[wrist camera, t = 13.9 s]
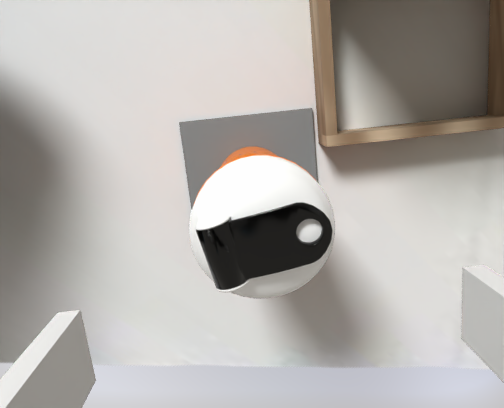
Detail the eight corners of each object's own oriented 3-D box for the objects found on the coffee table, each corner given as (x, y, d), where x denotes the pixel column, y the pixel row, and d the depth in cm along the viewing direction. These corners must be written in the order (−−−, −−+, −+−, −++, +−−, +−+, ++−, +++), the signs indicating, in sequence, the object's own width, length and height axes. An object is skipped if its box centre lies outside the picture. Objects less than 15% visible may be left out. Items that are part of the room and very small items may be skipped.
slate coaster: (197, 247, 44) (197, 248, 43) (179, 122, 41) (179, 122, 40) (320, 233, 44) (320, 235, 43) (311, 108, 41) (311, 108, 40)
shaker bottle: (310, 201, 43) (371, 280, 23) (232, 237, 43) (228, 345, 24) (273, 121, 41) (307, 134, 21) (192, 160, 41) (152, 209, 22)
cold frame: (318, 143, 42) (389, 175, 22) (306, -46, 38) (378, -208, 18) (508, 122, 42) (743, 137, 22) (515, -68, 38) (809, -252, 18)
